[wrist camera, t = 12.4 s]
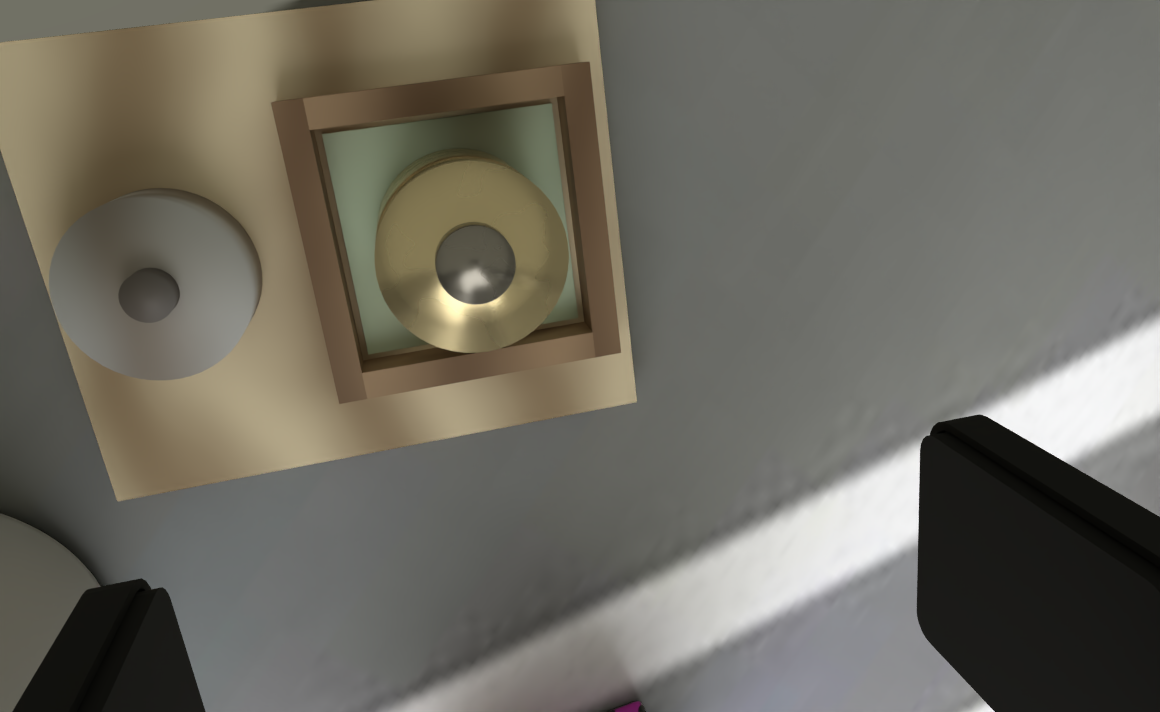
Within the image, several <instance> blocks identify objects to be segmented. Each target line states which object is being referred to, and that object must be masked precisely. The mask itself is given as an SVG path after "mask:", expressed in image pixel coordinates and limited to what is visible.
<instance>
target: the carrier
mask: <svg viewBox="0 0 1160 712" xmlns="http://www.w3.org/2000/svg"><path fill="white" fill-rule="evenodd" d="M453 148H467V149H474V150H479V151H483V152H486V153H489V154H492V155H494V156H496V157H498V158H500V159H502V160H503V161H505V162H506V163H508V164H509V165H511V166H512V167H513V168H515V169H516V170H517V171H518V172H520V173H521V174H522V175H524V176H525V177H526V178H527V179H529V180H530V181H531V182H532V183H534V184H535V185H536V186H537V187H538V188H539V189H541V191H542V192H543V193H544V194H545V195H546V196H547V197H548V198H549V200H550V201H551V203H552V204H553V206H554V207H555V209H556V210H557V212H558V214H559V216H560V218H561V220H562V223H563V226H564V229H565V232H566V236H567V241H568V250H569V264H568V272H567V278H566V282H565V285H564V288H563V291H562V293H561V296H560V298H559V300H558V302H557V304H556V305H555V307H554V308H553V310H552V311H551V313H550V314H549V315H548V317H547V318H546V319H545V320H544V321H543V323H542V324H540V325H539V326H538V327H537V328H536V329H535V330H534V331H533V332H531V333H530V334H528V335H527V336H526V337H524V338H523V339H521V340H519V341H517V342H515V343H513V344H511V345H508V346H506V347H503V348H500V349H496V350H492V351H487V352H479V353H463V352H455V351H450V350H446V349H442V348H439V347H437V346H434V345H432V344H429V343H427V342H426V341H424V340H422V339H420V338H418V337H417V336H416V335H414V334H413V333H412V332H410V331H409V330H408V329H407V328H406V327H404V326H403V325H402V324H401V323H400V322H399V321H398V319H397V318H396V317H395V316H394V314H393V313H392V312H391V310H390V309H389V307H388V305H387V304H386V302H385V300H384V298H383V296H382V293H381V291H380V288H379V285H378V281H377V278H376V271H375V240H376V229H377V220H378V213H379V209H380V206H381V202H382V200H383V198H384V195H385V193H386V191H387V190H388V188H389V186H390V185H391V183H392V182H393V181H394V179H395V178H396V177H397V176H398V174H399V173H401V172H402V171H403V170H404V169H405V168H406V167H407V166H408V165H410V164H411V163H413V162H414V161H415V160H417V159H419V158H421V157H423V156H425V155H427V154H430V153H433V152H436V151H440V150H445V149H453ZM0 150H1V153H2V156H3V159H4V162H5V165H6V168H7V171H8V174H9V177H10V180H11V183H12V186H13V189H14V192H15V195H16V198H17V201H18V204H19V207H20V210H21V213H22V216H23V219H24V222H25V225H26V228H27V231H28V234H29V237H30V240H31V243H32V246H33V249H34V252H35V255H36V258H37V261H38V264H39V267H40V270H41V273H42V276H43V279H44V282H45V285H46V288H47V291H48V294H49V297H50V300H51V303H52V306H53V309H54V312H55V315H56V318H57V321H58V324H59V327H60V331H61V334H62V337H63V340H64V343H65V346H66V349H67V352H68V355H69V358H70V361H71V364H72V367H73V370H74V373H75V376H76V379H77V382H78V385H79V388H80V391H81V394H82V397H83V400H84V403H85V406H86V409H87V412H88V415H89V418H90V421H91V424H92V427H93V430H94V433H95V436H96V439H97V442H98V445H99V448H100V451H101V454H102V457H103V460H104V463H105V466H106V469H107V472H108V475H109V478H110V481H111V484H112V487H113V490H114V493H115V496H116V499H117V502H118V501H123V500H128V499H133V498H139V497H144V496H149V495H154V494H159V493H165V492H170V491H175V490H180V489H186V488H191V487H196V486H201V485H206V484H212V483H217V482H222V481H227V480H232V479H238V478H243V477H248V476H253V475H259V474H264V473H269V472H274V471H279V470H285V469H290V468H295V467H300V466H306V465H311V464H316V463H321V462H326V461H332V460H337V459H342V458H347V457H353V456H358V455H363V454H368V453H373V452H379V451H384V450H389V449H394V448H400V447H405V446H410V445H415V444H420V443H426V442H431V441H436V440H441V439H446V438H452V437H457V436H462V435H467V434H473V433H478V432H483V431H488V430H493V429H499V428H504V427H509V426H514V425H520V424H525V423H530V422H535V421H540V420H546V419H551V418H556V417H561V416H567V415H572V414H577V413H582V412H587V411H593V410H598V409H603V408H608V407H614V406H619V405H624V404H629V403H634V402H637V398H636V389H635V379H634V369H633V360H632V350H631V341H630V331H629V322H628V312H627V302H626V293H625V283H624V274H623V264H622V254H621V245H620V235H619V226H618V216H617V206H616V197H615V187H614V178H613V168H612V159H611V149H610V139H609V130H608V120H607V111H606V101H605V91H604V82H603V72H602V63H601V53H600V44H599V34H598V24H597V15H596V5H595V0H373V1H364V2H355V3H347V4H338V5H329V6H320V7H311V8H302V9H293V10H284V11H275V12H267V13H258V14H249V15H240V16H231V17H223V18H213V19H205V20H195V21H187V22H178V23H169V24H161V25H152V26H143V27H134V28H124V29H116V30H107V31H98V32H89V33H80V34H72V35H62V36H53V37H44V38H36V39H27V40H18V41H9V42H1V43H0Z"/></svg>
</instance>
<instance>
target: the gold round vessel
mask: <svg viewBox="0 0 1160 712" xmlns="http://www.w3.org/2000/svg"><path fill="white" fill-rule="evenodd" d="M568 264H569V250H568V241H567V236H566V232H565V229H564V226H563V223H562V220H561V218H560V216H559V214H558V212H557V210H556V209H555V207H554V206H553V204H552V203H551V201H550V200H549V198H548V197H547V196H546V195H545V194H544V193H543V192H542V191H541V189H539V188H538V187H537V186H536V185H535V184H534V183H532V182H531V181H530V180H529V179H527V178H526V177H525V176H524V175H522V174H521V173H520V172H518V171H517V170H516V169H515V168H513V167H512V166H511V165H509V164H508V163H506V162H505V161H503V160H502V159H500V158H498V157H496V156H494V155H492V154H489V153H486V152H483V151H479V150H474V149H467V148H453V149H445V150H440V151H436V152H433V153H430V154H427V155H425V156H423V157H421V158H419V159H417V160H415V161H414V162H413V163H411V164H410V165H408V166H407V167H406V168H405V169H404V170H403V171H402V172H401V173H399V174H398V176H397V177H396V178H395V179H394V181H393V182H392V183H391V185H390V186H389V188H388V190H387V191H386V193H385V195H384V198H383V200H382V202H381V206H380V209H379V213H378V220H377V229H376V240H375V271H376V278H377V281H378V285H379V288H380V291H381V293H382V296H383V298H384V300H385V302H386V304H387V305H388V307H389V309H390V310H391V312H392V313H393V314H394V316H395V317H396V318H397V319H398V321H399V322H400V323H401V324H402V325H403V326H404V327H406V328H407V329H408V330H409V331H410V332H412V333H413V334H414V335H416V336H417V337H418V338H420V339H422V340H424V341H426V342H427V343H429V344H432V345H434V346H437V347H439V348H442V349H446V350H450V351H455V352H463V353H479V352H487V351H492V350H496V349H500V348H503V347H506V346H508V345H511V344H513V343H515V342H517V341H519V340H521V339H523V338H524V337H526V336H527V335H528V334H530V333H531V332H533V331H534V330H535V329H536V328H537V327H538V326H539V325H540V324H542V323H543V321H544V320H545V319H546V318H547V317H548V315H549V314H550V313H551V311H552V310H553V308H554V307H555V305H556V304H557V302H558V300H559V298H560V296H561V293H562V291H563V288H564V285H565V282H566V278H567V272H568Z"/></svg>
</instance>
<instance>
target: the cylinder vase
mask: <svg viewBox="0 0 1160 712" xmlns="http://www.w3.org/2000/svg"><path fill="white" fill-rule="evenodd" d="M96 587H101V586H100V585H99V583H98V582H97V580H96V579H95V577H94V576H93V575H92V574H91V572H90V571H89V570H88V569H87V568H86V566H85V565H84V564H83V563H82V562H81V561H80V560H79V559H78V558H77V557H76V556H75V555H74V554H73V553H71V552H70V551H69V550H68V549H67V548H65V547H64V546H63V545H62V544H60V543H59V542H57V541H56V540H55V539H53V538H52V537H50V536H48V535H47V534H45V533H44V532H42V531H40V530H38V529H36V528H34V527H32V526H31V525H28V524H26V523H24V522H22V521H20V520H17V519H15V518H12V517H9V516H7V515H4V514H1V513H0V712H12V711H13V709H14V708H15V706H16V704H17V703H18V701H19V699H20V698H21V696H22V694H23V693H24V691H25V689H26V688H27V686H28V684H29V683H30V681H31V679H32V678H33V676H34V674H35V673H36V671H37V669H38V668H39V666H40V664H41V663H42V661H43V659H44V658H45V656H46V654H47V653H48V651H49V649H50V648H51V646H52V644H53V643H54V641H55V639H56V638H57V636H58V634H59V633H60V631H61V629H62V627H63V626H64V624H65V622H66V621H67V619H68V617H69V616H70V614H71V612H72V611H73V609H74V607H75V606H76V604H77V602H78V601H79V599H80V597H81V596H82V594H83V593H84V592H85V591H86V590H87V589H91V588H96Z"/></svg>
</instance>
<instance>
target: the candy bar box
mask: <svg viewBox="0 0 1160 712" xmlns="http://www.w3.org/2000/svg"><path fill="white" fill-rule="evenodd" d="M608 712H646V710H645V708H644V706H643V705H642V703H641V702H640V701H636V702H632V703H629V704H626V705H624V706H621V707H618V708H616V709H613V710H610V711H608Z"/></svg>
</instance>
